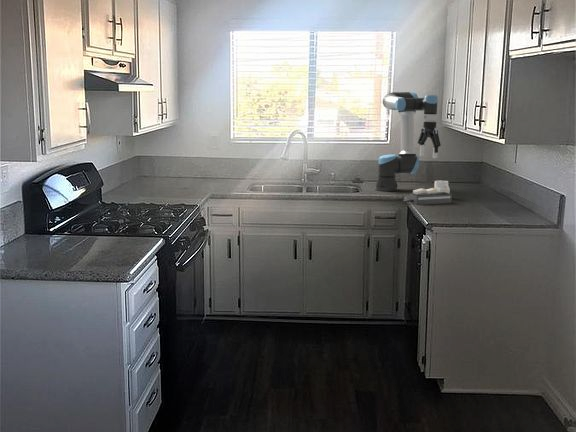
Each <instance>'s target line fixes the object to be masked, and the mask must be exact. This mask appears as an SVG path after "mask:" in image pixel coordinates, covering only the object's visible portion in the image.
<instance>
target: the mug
mask: <svg viewBox="0 0 576 432" xmlns="http://www.w3.org/2000/svg"><path fill="white" fill-rule="evenodd" d="M433 188H442V189H447V190H449V193H450V192H451V190H450V186H449V181H448V180H441V179H440V180H434V187H433ZM437 192H441V191H437ZM450 194H451V193H450Z"/></svg>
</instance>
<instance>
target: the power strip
mask: <svg viewBox="0 0 576 432" xmlns="http://www.w3.org/2000/svg"><path fill="white" fill-rule="evenodd" d="M452 194H453V193H446V192H434V193H430V194H427V193H420V194H414V193H413V192H412V193H409V199H405V200H404V199H403V200H402V202H403V203H411V204H413V205H418V206H419V205H434V204H452V199H453V195H452Z"/></svg>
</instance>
